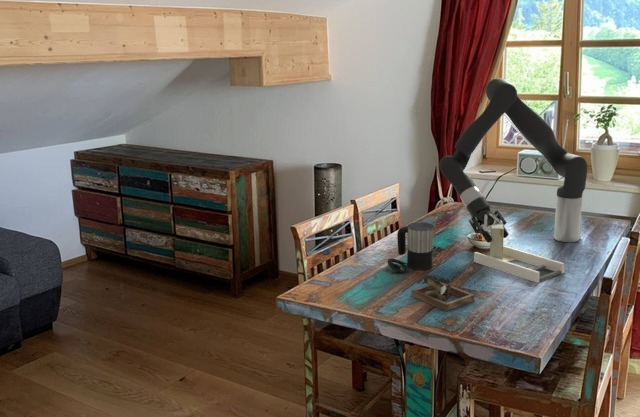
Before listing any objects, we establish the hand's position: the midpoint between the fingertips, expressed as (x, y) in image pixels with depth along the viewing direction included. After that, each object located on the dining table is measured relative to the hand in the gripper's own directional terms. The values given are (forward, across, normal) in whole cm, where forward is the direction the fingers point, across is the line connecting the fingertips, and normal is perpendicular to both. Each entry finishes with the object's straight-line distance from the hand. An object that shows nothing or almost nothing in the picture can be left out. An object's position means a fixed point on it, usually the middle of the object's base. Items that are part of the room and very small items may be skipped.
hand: (498, 239), depth 240 cm
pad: (+5, 0, +6) cm, 8 cm away
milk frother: (-4, -28, +16) cm, 33 cm away
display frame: (+14, -40, -3) cm, 43 cm away
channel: (+12, 0, 0) cm, 12 cm away
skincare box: (+5, 0, +6) cm, 8 cm away
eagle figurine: (+13, -41, -1) cm, 43 cm away
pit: (+19, 0, -7) cm, 20 cm away
